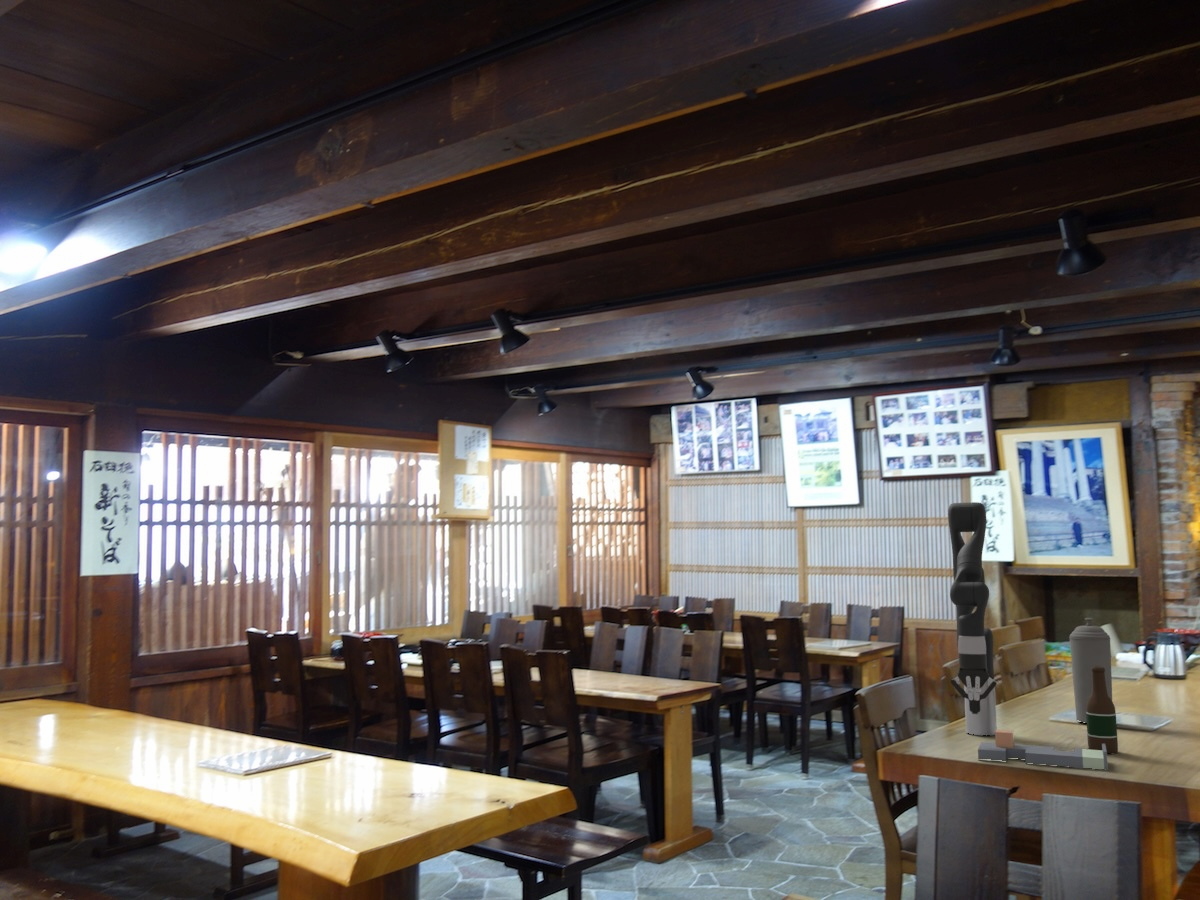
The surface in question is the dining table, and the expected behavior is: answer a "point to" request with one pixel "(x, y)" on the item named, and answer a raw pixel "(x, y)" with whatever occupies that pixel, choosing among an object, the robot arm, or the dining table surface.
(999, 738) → the block
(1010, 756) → the board
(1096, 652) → the canister
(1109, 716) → the beer bottle
